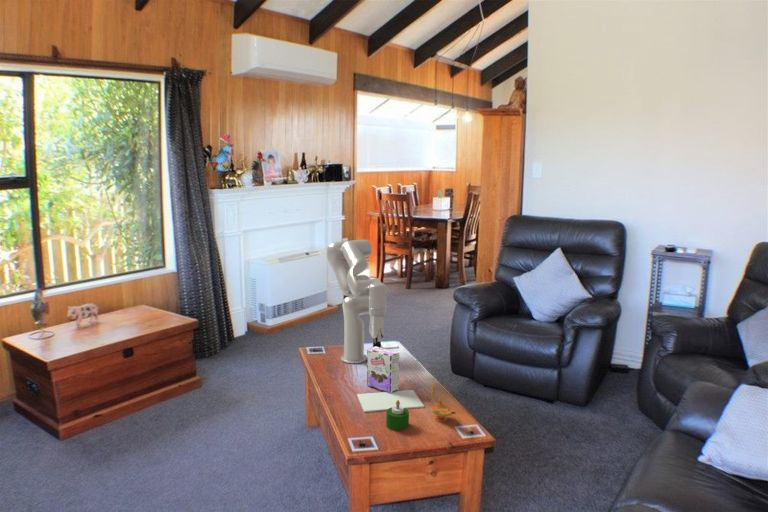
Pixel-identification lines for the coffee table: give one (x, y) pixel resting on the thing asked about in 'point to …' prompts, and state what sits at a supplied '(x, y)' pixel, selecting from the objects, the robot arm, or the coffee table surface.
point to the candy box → (383, 369)
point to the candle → (397, 418)
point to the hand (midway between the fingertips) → (376, 351)
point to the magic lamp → (440, 409)
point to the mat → (389, 400)
